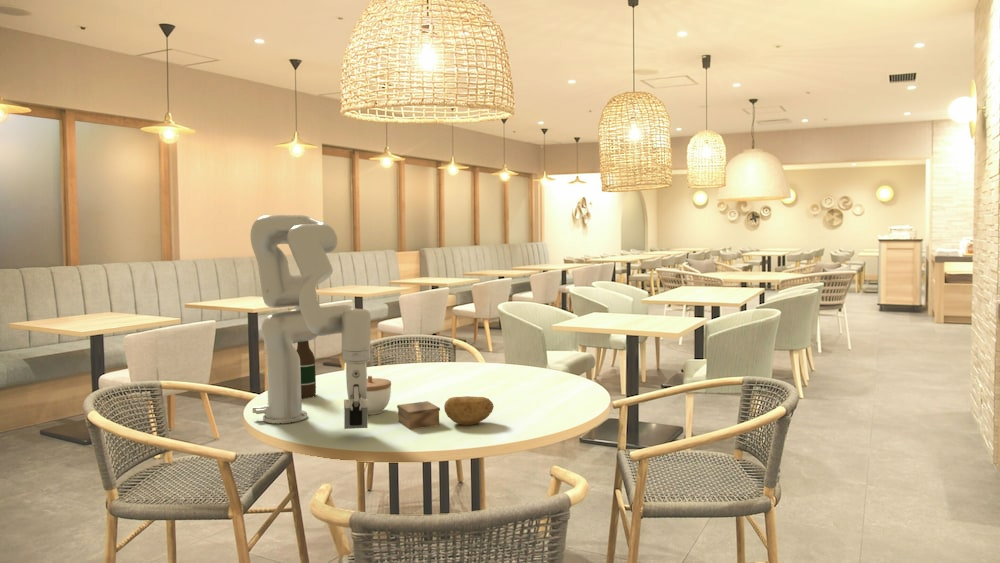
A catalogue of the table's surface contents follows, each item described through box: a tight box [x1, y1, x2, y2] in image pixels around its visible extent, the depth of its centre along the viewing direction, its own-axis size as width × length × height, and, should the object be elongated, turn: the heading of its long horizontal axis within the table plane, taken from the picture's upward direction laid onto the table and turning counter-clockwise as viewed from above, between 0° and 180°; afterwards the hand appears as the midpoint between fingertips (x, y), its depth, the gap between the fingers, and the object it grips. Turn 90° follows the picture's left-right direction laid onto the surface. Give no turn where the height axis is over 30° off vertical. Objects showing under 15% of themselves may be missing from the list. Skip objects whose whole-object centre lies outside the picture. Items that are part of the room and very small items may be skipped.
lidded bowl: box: [361, 375, 392, 416], centre depth 224 cm, size 13×13×11 cm
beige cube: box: [343, 398, 368, 430], centre depth 197 cm, size 6×6×6 cm
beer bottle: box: [295, 341, 317, 399], centre depth 245 cm, size 8×8×24 cm
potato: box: [443, 396, 494, 426], centre depth 209 cm, size 10×14×8 cm
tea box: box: [396, 400, 441, 430], centre depth 210 cm, size 9×9×5 cm
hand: (355, 420), depth 197 cm, fingers closed on beige cube, 6 cm apart
